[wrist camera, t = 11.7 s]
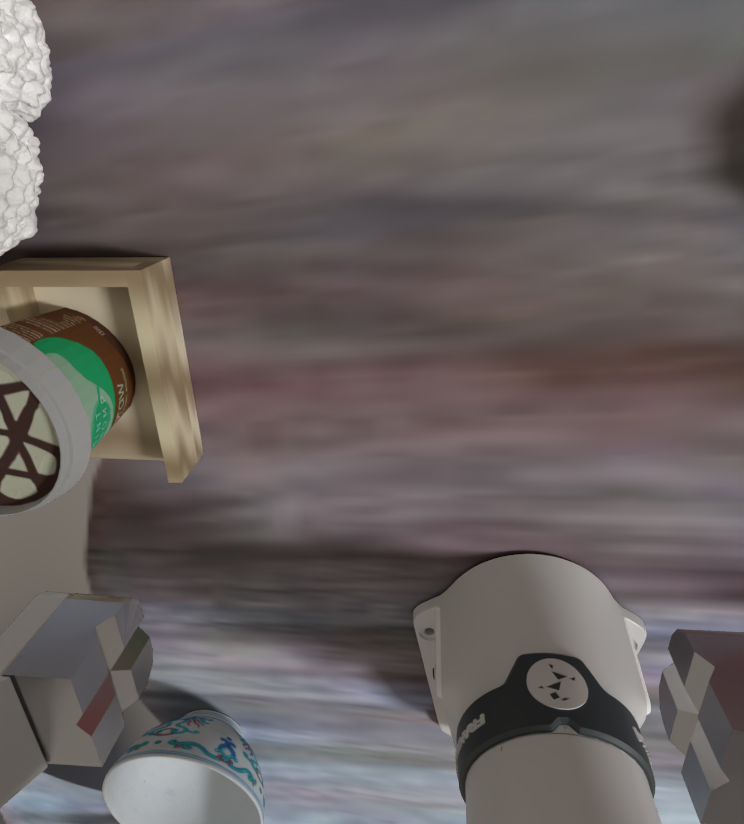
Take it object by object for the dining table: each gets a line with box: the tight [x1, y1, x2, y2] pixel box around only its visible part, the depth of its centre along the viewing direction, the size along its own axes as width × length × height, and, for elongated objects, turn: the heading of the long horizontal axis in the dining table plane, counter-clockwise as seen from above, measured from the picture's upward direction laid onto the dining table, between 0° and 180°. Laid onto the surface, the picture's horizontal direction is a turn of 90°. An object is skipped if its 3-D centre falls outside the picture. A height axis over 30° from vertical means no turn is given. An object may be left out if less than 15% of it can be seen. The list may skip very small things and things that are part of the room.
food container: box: [0, 307, 136, 516], centre depth 37 cm, size 12×6×10 cm, turn 169°
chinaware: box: [102, 710, 264, 824], centre depth 56 cm, size 15×15×8 cm
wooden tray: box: [0, 257, 204, 483], centre depth 40 cm, size 15×10×4 cm
